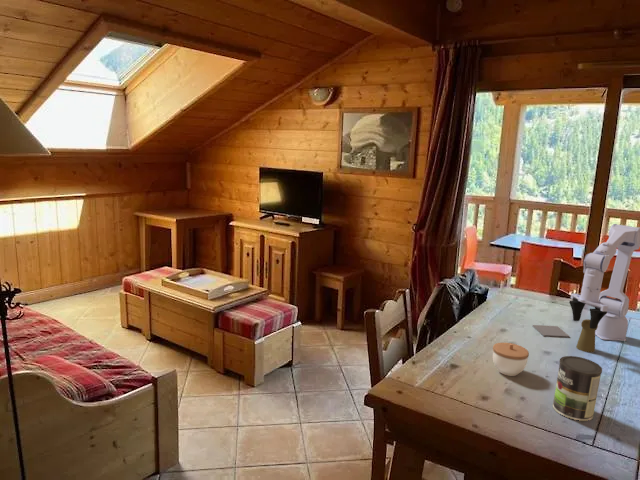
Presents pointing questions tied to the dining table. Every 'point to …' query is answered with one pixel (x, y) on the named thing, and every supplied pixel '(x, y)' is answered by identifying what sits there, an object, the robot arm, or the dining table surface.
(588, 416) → the coffee can
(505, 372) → the lidded jar
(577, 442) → the dining table surface
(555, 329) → the slate coaster
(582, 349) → the cork
